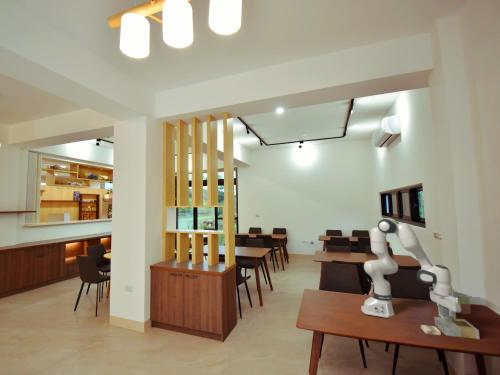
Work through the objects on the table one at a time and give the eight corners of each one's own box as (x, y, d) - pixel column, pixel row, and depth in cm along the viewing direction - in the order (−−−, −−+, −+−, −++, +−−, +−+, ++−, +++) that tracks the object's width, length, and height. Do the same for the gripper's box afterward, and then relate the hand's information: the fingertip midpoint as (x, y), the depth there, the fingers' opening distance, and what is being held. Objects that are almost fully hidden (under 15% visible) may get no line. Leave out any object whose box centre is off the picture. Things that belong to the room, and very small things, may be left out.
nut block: (443, 316, 150) (442, 308, 151) (439, 313, 155) (438, 305, 155) (452, 317, 149) (452, 309, 149) (448, 314, 153) (448, 306, 154)
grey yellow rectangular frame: (446, 335, 145) (445, 326, 146) (435, 324, 159) (434, 316, 159) (479, 339, 141) (478, 330, 141) (465, 327, 155) (464, 319, 155)
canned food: (450, 307, 185) (448, 291, 186) (469, 310, 179) (467, 294, 180) (451, 312, 176) (450, 295, 177) (472, 316, 170) (470, 299, 171)
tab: (425, 333, 148) (425, 330, 148) (421, 328, 155) (420, 324, 155) (440, 335, 146) (440, 331, 146) (435, 329, 153) (435, 326, 153)
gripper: (463, 297, 143) (465, 320, 142) (436, 286, 163) (438, 306, 162) (452, 297, 143) (455, 321, 142) (427, 286, 163) (429, 307, 162)
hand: (445, 313), depth 152 cm, fingers closed on nut block, 6 cm apart
